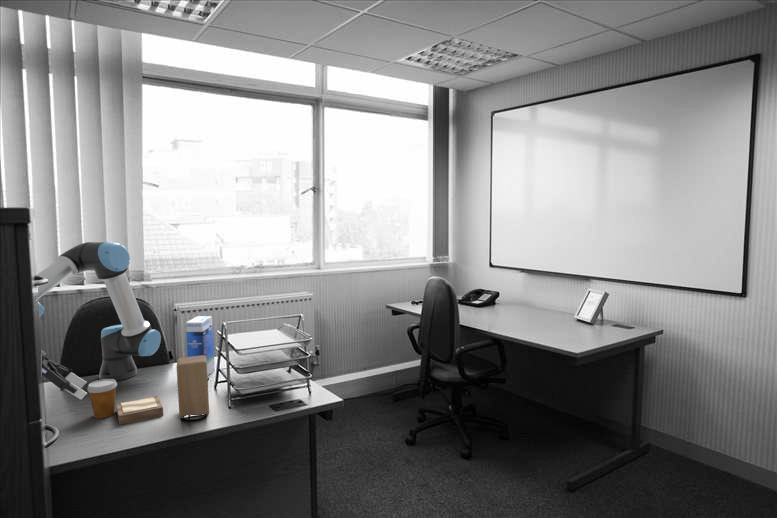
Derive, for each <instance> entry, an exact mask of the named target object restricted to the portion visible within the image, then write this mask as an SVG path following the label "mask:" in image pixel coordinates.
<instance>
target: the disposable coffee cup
mask: <svg viewBox="0 0 777 518" xmlns="http://www.w3.org/2000/svg"><path fill="white" fill-rule="evenodd" d="M117 387H118V382H117V381H115V380H114V379H103V380H100V379H99V380H98V379H97V380H95V381H91V382H89V384H88V385H87V387H86V390H87V393H89V397H90V403H91V407H92V411H93V416H94V418H95V419H105V418H108V417H111V416H113V415H114V414H115V409H116V406H115V405H116V394H117V393H116V392H117Z"/></svg>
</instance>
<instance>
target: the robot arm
mask: <svg viewBox="0 0 777 518" xmlns="http://www.w3.org/2000/svg"><path fill="white" fill-rule="evenodd" d="M130 260H131V256H130V253H129V251H128V249H127V248H126V246H124V245H123V244H121V243H118V242H113V241H106V242H105V241H103V242H102V241H101V242H99V241H97V242H95V241H87V242H86V241H85V242H82V243H80V244H77V245H76V246H73V247H71V248H70V249H68V250H66V251H65V252H63V253H61V254H60V255H59V256H57V257H56V258H55V262H53V263H51V264H50V265H48V266H47V267H46V268H44V269H42V270H41V271H39V272H38V273H37V274H36V275H38V276H40V277H43V278H46V279H48V283H47V284H45V285H42V286H39V287H38V299H37V300H39V299H40V298H41V297H43V296H45V295H46V294H47V293H48V292H50V291H51V290H52V289H54V288H56V287H57V286H58V285H60V284H61V283H62V282H64V281H65V280H66V279H68V278H69V277H76V275H78V274H80V273H82V272H86V271H91V272H92V271H94V272H95V275H96V278H97V279H98V280H99V281H103V284H104V285H105V288H106V290H107V292H108V294H109V298H110V299H111V301H112V304H113V307H114V309H115V311H116V314H117V316H118V319H119V321H120V323H121V324H115V325H111V326H108V327H104V328H102V330H101V331H100V342H101V343H100V344H101V353H102V354H101V355H102V363H101V366H100V369H99V370H100V371H99V373H98V374H99V376H98V377H99V378H98V379H99V380H103V379H114V380H115V381H116V382H117V381H122V380H126V379H129V378H133V377H134V376H136V375H137V374H138V367H137V366H136V364H135V363H136V362H135V361H134V359H133V356H140V357H150V356H153V355H154V354H156V352H158V349H159V348H160V344H161V342H162V341H161V340H162V339H161V338H162V337H161V333H160V331H158V330H157V329H152V326H151V324H150V322H149V321H148V320H145V318H144V317H143V314H142V312H141V309H140V307H139V304H138V301H137V299H136V296H135V294H134V291H133V288H132V286H131V284H130V282H129V279H128V275H127V272H128V271H129V268H128V267H129V265H130ZM38 304H39V318H41V316H42V315H43V314H44V312H45V308H44V305H42V303H41V302H40V301H38ZM40 349H41V354H42V375H41V376H43V377H45V378H46V380H48V381H50V382H51V383H52V384H53V385H55V386H56V388H58V389H59V390H60V392H64V391H66V392H67V393H69V394H71V395H72V396H74V397H76V398H77V399H79V400H80V401H81V400H83V399H84V397H85V396H87V395H88V391H87V392H86V391H85V390H84V389H83V387H84V386H85V385H86V384H87V383H88V382H87V380H84V379H83V378H81V377H79V376H78V375H77V374H75V373H74V372H72V371H73V369H72V368H69V367H66V366H64V365H61V364H60V363H58V362H56V361H54V360H52V359H50V358H49V357H47V356H48V352H46V350H43V349H42V348H40Z"/></svg>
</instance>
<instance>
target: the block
mask: <svg viewBox="0 0 777 518" xmlns="http://www.w3.org/2000/svg"><path fill="white" fill-rule="evenodd" d="M208 377H209V376H208ZM208 377H207V360H206V356H204V355H201V356H192V357H187V356H186V357H185V356H183V357H179V358H178V359H177V361H176V378H177V380H176V381H177V399H178V415H179V418H180V419H182V418H181V417H182V416H186V415H188V414H191V415H202V414H204V413H205V414H206V415H205V416H208V415H209V413H210V403H209V402H210V401H209V380H208Z"/></svg>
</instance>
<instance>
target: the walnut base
mask: <svg viewBox="0 0 777 518" xmlns="http://www.w3.org/2000/svg"><path fill="white" fill-rule="evenodd" d="M115 405H116V406H115V409H116V411H115V412H116V415H117V418H118V422H119V423H118V424H119V425H125V424H130V423H134V422H138V421H142V420H147V419H148V420H149V419H152V417H153V418H157V417H162V416H164V407H163V405H162V403H161V400H160V399H159V396H158V395H155V396H149V397H144V398H139V399H133V400H128V401H124V402H123V401H122V402H118V403H115Z"/></svg>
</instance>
